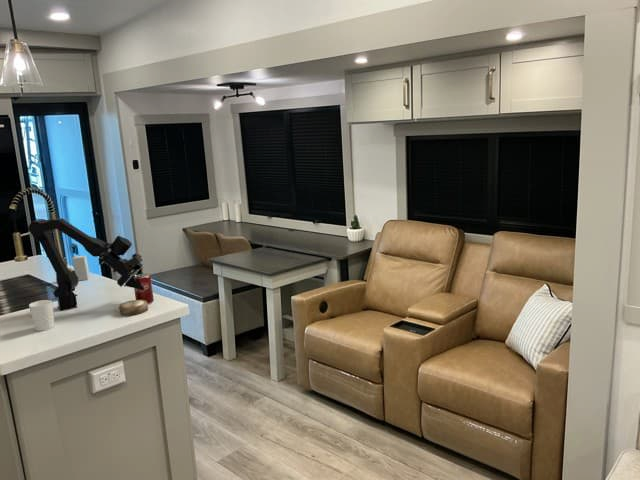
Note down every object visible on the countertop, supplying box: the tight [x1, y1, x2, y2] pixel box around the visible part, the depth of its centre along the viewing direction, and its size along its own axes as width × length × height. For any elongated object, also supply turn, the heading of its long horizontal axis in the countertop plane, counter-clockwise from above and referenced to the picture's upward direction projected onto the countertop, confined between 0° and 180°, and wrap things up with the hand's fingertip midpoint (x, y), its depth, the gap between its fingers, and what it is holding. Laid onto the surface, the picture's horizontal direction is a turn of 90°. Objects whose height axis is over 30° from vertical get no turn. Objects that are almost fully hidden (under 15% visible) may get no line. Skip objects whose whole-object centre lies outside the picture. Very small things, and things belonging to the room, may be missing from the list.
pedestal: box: [118, 299, 149, 317], centre depth 217 cm, size 11×11×3 cm
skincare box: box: [71, 255, 91, 282], centre depth 270 cm, size 6×4×12 cm
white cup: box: [28, 299, 55, 332], centre depth 202 cm, size 8×8×10 cm
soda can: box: [133, 273, 155, 305], centre depth 226 cm, size 7×7×12 cm
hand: (146, 286), depth 226 cm, fingers closed on soda can, 7 cm apart
